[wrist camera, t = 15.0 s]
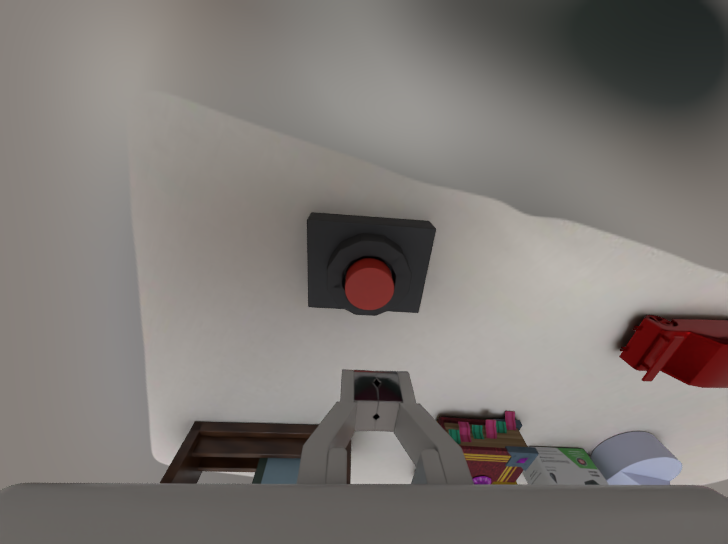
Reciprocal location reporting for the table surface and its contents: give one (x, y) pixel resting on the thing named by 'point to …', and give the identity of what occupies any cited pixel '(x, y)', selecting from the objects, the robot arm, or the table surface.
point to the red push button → (369, 284)
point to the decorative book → (491, 447)
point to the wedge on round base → (635, 460)
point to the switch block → (367, 240)
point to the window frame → (237, 448)
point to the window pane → (277, 471)
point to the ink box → (563, 468)
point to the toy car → (681, 350)
